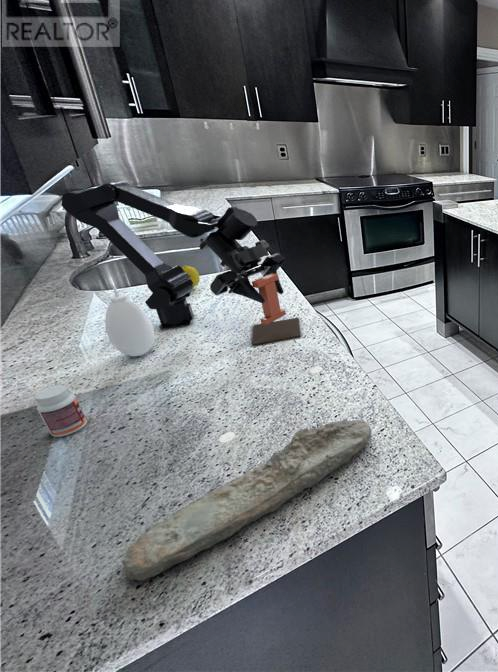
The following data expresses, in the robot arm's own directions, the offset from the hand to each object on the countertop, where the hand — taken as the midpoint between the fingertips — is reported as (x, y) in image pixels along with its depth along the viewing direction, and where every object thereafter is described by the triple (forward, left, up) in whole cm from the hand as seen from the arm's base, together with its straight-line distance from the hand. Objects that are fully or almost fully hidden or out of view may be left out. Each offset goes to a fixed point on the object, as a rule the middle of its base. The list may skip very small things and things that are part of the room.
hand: (273, 297), depth 105 cm
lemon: (-25, +42, -11) cm, 50 cm away
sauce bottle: (-30, +2, -11) cm, 32 cm away
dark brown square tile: (-1, +1, -10) cm, 11 cm away
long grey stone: (-2, -54, -11) cm, 55 cm away
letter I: (-1, +1, -7) cm, 7 cm away
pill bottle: (-35, -23, -11) cm, 43 cm away
